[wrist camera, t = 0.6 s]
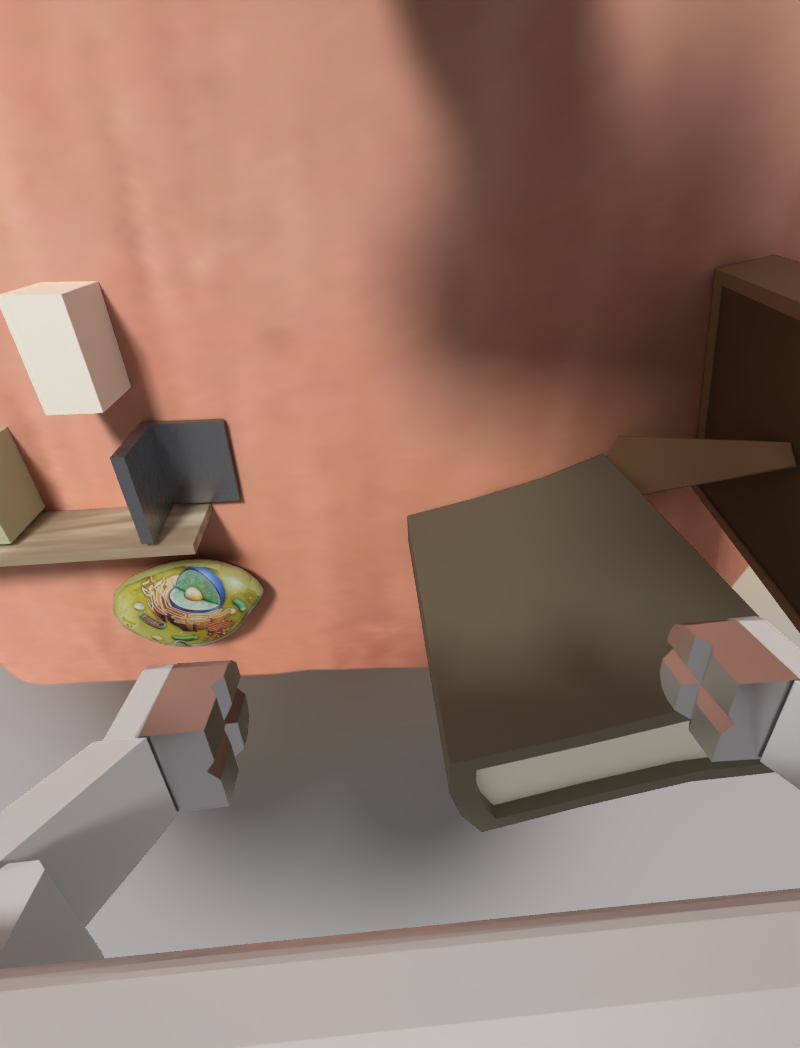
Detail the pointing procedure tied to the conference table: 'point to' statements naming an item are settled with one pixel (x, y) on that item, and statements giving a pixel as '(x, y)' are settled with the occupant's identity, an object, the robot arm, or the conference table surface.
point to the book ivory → (67, 345)
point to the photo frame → (743, 425)
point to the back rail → (103, 536)
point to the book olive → (15, 491)
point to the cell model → (187, 601)
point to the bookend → (173, 470)
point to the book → (560, 644)
